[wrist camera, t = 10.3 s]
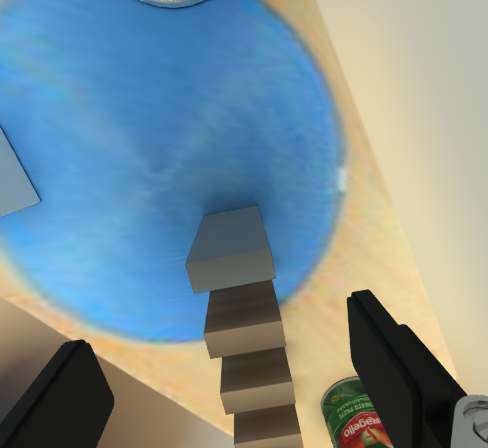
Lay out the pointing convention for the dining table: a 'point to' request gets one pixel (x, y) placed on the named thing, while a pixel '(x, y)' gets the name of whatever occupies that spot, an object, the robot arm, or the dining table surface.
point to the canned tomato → (352, 417)
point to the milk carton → (13, 181)
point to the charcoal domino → (230, 251)
